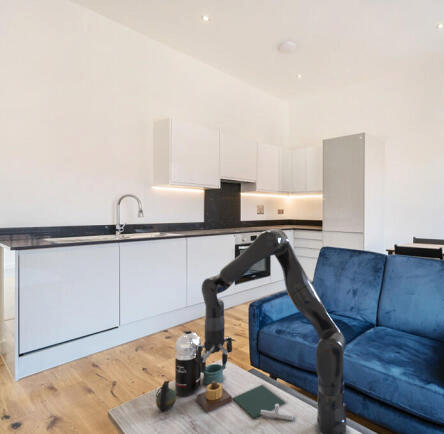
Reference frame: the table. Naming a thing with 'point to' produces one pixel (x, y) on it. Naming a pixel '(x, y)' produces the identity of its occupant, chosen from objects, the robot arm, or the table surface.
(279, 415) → the pipe joint
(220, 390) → the tape roll
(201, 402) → the tape holder
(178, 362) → the black ribbed cylinder
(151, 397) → the table surface
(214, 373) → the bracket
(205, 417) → the table surface
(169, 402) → the hand grenade
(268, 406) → the desk mat
